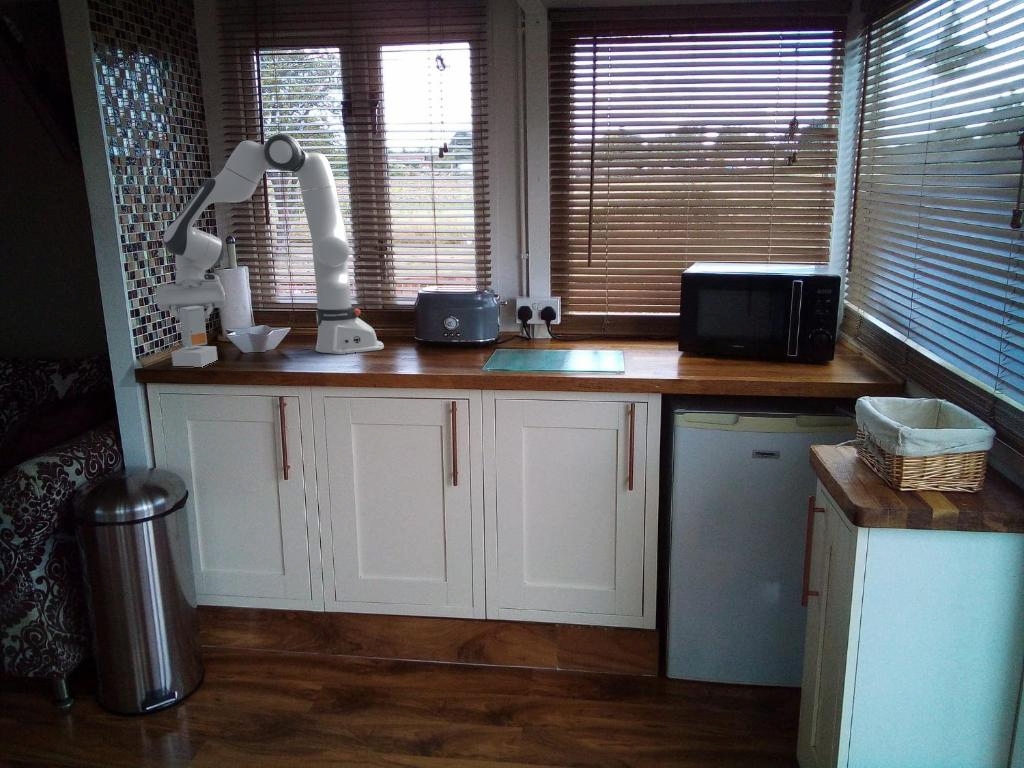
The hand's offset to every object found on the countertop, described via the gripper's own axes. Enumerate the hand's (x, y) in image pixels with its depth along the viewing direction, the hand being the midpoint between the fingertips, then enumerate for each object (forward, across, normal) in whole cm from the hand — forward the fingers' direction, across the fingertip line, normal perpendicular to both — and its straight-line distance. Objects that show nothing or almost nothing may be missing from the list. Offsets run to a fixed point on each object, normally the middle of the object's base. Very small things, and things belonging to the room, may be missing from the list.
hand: (192, 318), depth 258 cm
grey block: (+11, -1, +10) cm, 15 cm away
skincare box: (+6, 0, +6) cm, 9 cm away
